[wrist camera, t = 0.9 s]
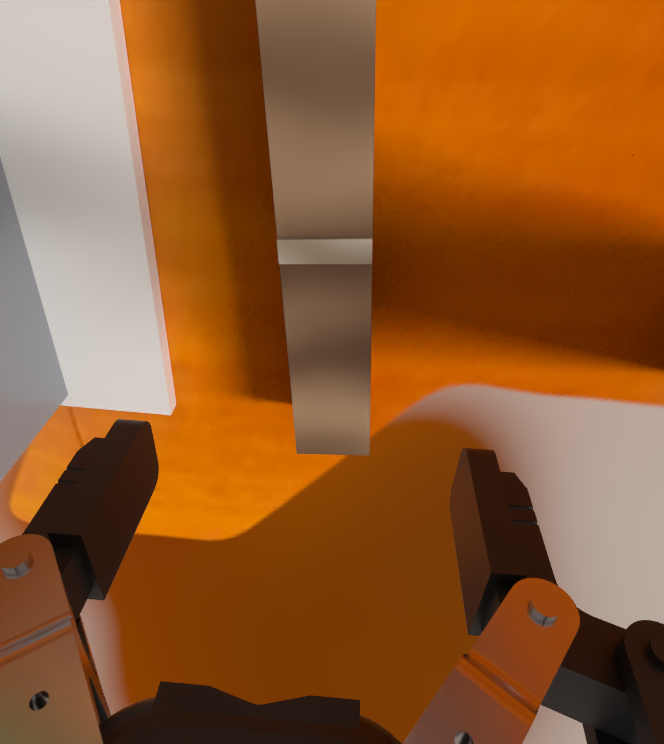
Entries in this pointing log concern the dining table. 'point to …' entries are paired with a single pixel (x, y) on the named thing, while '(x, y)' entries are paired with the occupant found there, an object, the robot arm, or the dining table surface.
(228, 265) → the dining table surface
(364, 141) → the walnut beam
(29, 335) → the stand
